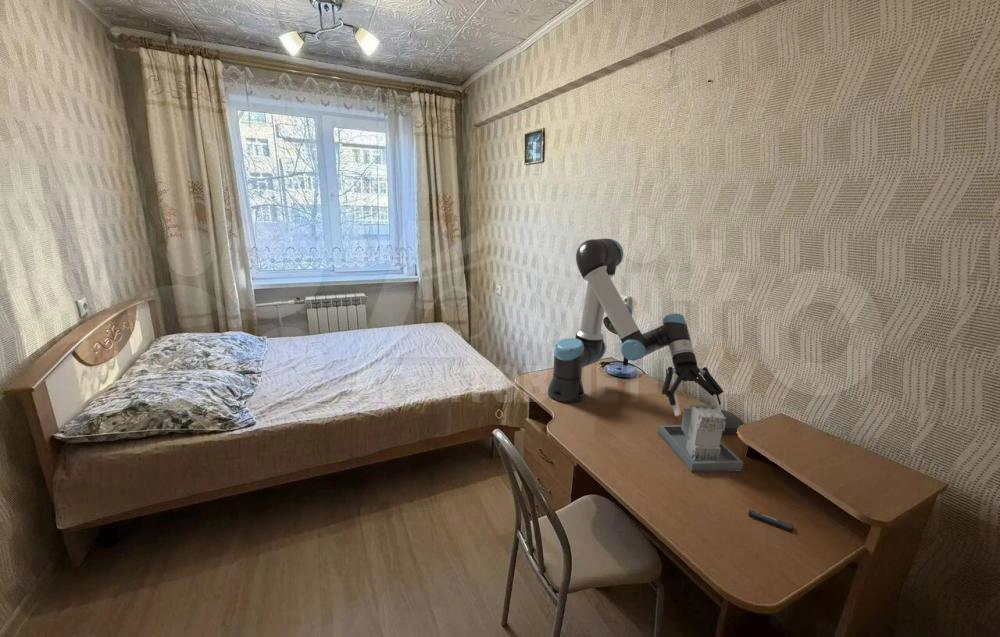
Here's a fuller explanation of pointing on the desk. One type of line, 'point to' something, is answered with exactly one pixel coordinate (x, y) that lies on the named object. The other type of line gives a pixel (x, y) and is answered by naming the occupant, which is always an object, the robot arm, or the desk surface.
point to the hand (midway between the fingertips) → (698, 415)
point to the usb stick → (771, 520)
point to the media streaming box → (731, 423)
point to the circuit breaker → (703, 431)
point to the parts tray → (676, 442)
